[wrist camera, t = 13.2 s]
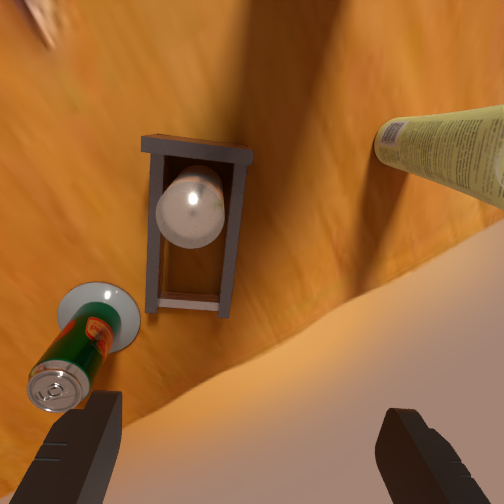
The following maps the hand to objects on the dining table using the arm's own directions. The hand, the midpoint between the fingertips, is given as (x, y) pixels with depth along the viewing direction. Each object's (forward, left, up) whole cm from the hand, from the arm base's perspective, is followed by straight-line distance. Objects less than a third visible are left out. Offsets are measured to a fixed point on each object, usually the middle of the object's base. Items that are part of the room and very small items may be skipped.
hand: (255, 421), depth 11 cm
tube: (-9, +17, -30) cm, 35 cm away
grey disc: (+14, -13, -30) cm, 35 cm away
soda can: (+14, -13, -29) cm, 35 cm away
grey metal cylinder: (-2, -3, -30) cm, 30 cm away
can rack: (+2, -3, -30) cm, 30 cm away
